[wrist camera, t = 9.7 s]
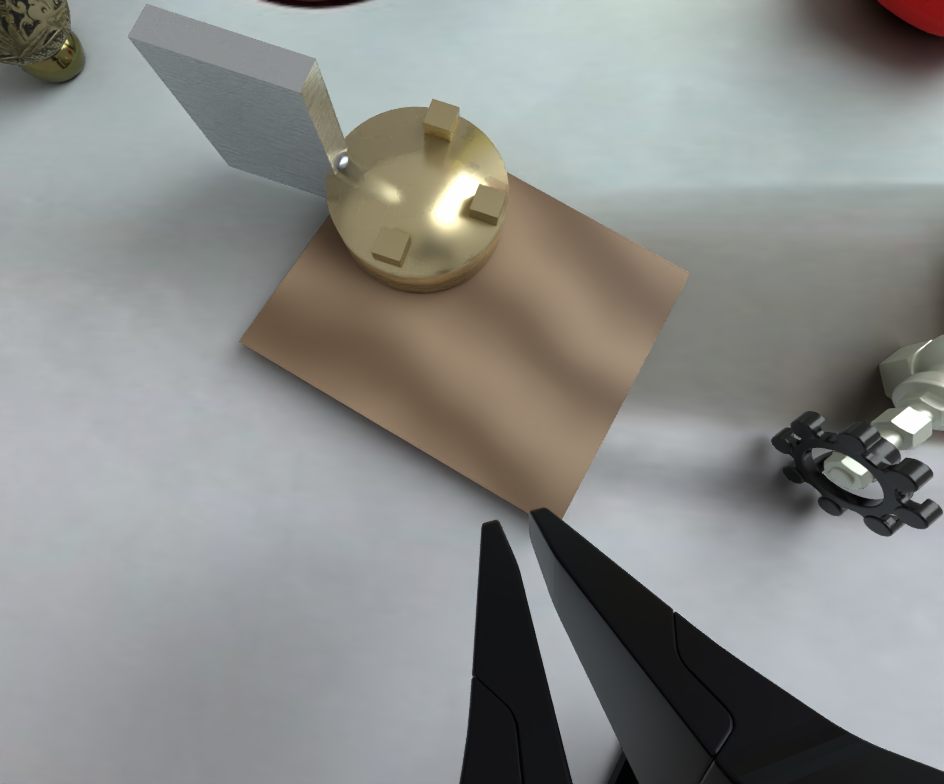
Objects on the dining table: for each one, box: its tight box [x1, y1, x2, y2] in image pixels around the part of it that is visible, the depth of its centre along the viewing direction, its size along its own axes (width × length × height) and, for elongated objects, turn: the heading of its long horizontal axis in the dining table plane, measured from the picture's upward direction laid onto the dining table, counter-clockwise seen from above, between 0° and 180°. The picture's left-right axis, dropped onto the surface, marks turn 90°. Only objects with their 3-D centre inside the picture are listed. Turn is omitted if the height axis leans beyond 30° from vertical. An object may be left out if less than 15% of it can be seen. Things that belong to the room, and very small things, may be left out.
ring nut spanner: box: [128, 4, 509, 292], centre depth 19 cm, size 16×9×7 cm, turn 72°
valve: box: [771, 334, 944, 537], centre depth 20 cm, size 7×7×12 cm
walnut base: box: [239, 173, 690, 520], centre depth 23 cm, size 16×19×2 cm
